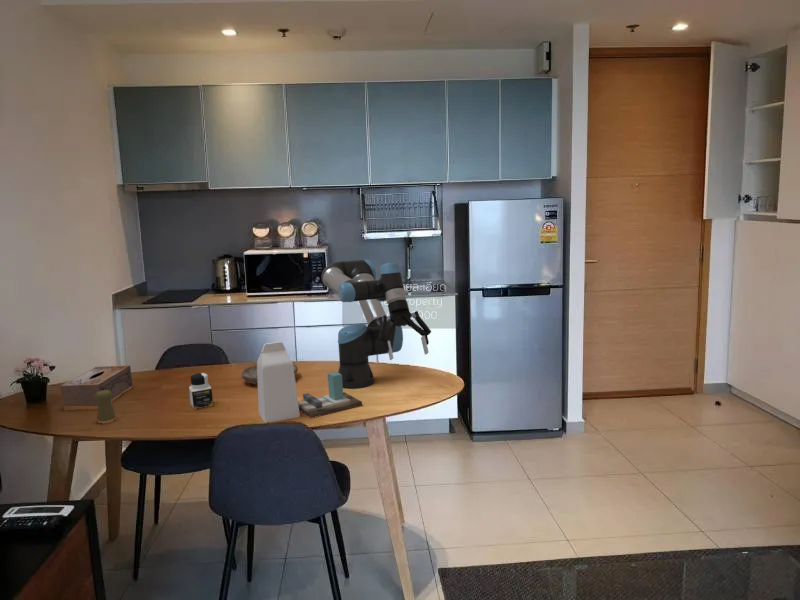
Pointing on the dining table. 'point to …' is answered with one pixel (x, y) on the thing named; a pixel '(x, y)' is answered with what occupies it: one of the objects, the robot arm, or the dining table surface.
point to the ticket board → (324, 405)
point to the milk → (276, 384)
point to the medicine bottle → (200, 391)
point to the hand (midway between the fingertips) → (409, 356)
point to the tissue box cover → (96, 385)
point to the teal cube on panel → (336, 389)
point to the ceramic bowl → (251, 374)
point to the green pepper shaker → (104, 405)
